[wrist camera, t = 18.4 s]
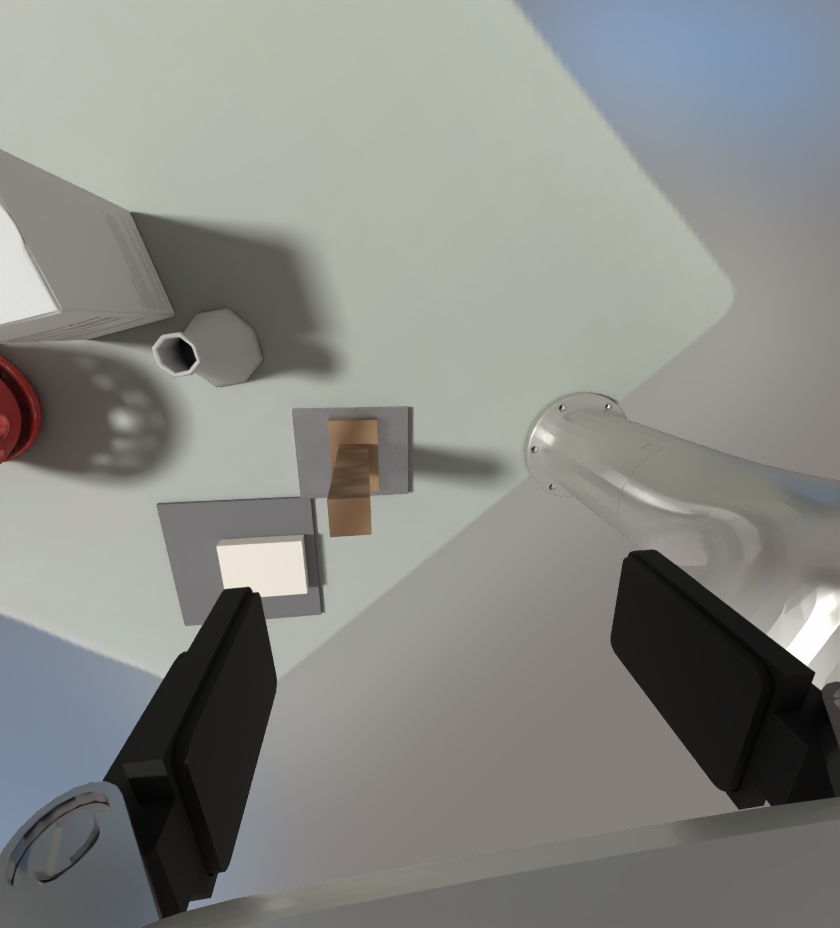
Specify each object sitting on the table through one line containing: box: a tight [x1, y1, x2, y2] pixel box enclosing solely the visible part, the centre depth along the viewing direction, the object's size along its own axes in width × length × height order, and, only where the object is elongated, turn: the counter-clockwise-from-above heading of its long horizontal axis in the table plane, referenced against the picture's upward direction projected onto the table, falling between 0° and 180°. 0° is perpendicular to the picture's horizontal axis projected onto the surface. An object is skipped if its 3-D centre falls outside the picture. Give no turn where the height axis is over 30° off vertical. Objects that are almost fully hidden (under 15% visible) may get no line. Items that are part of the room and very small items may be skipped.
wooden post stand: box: [327, 418, 379, 537], centre depth 35 cm, size 5×8×15 cm, turn 0°
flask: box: [152, 308, 263, 387], centre depth 33 cm, size 7×7×10 cm
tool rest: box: [292, 407, 408, 499], centre depth 43 cm, size 12×10×1 cm
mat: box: [157, 497, 322, 626], centre depth 45 cm, size 16×16×1 cm
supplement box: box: [0, 149, 175, 344], centre depth 28 cm, size 9×9×15 cm
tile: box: [216, 534, 309, 597], centre depth 45 cm, size 2×7×9 cm
